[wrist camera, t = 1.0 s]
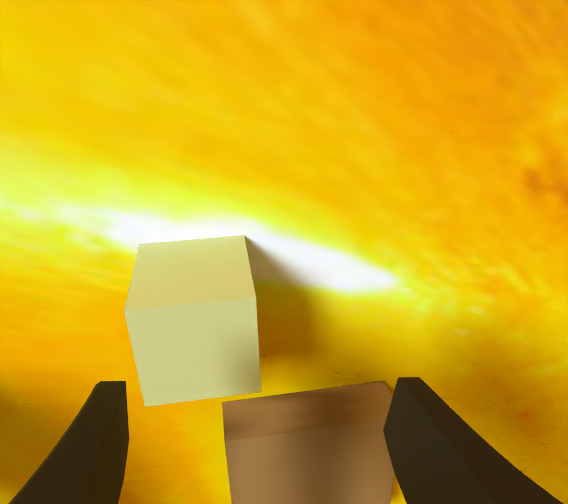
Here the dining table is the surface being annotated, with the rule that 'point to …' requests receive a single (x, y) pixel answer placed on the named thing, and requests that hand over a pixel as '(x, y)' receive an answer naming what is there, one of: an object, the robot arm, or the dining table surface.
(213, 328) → the pale yellow block
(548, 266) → the dining table surface
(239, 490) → the walnut pedestal
